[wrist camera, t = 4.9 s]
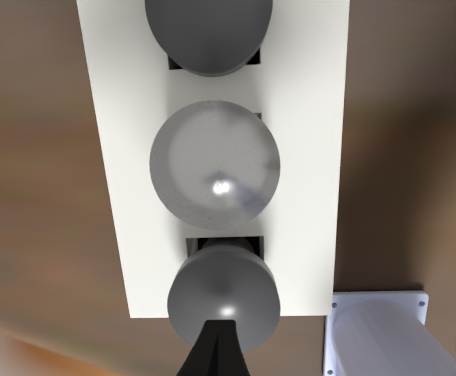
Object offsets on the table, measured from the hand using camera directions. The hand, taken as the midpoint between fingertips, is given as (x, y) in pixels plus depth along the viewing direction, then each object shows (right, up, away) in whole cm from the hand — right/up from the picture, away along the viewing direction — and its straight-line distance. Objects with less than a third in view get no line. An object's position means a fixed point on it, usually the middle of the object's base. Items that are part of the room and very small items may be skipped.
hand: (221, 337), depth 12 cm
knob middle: (0, +9, +5) cm, 10 cm away
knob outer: (0, +17, +5) cm, 18 cm away
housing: (0, +10, +7) cm, 12 cm away
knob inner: (0, +2, +7) cm, 7 cm away
